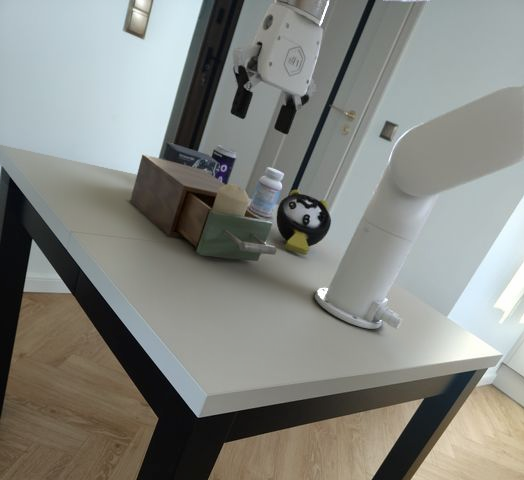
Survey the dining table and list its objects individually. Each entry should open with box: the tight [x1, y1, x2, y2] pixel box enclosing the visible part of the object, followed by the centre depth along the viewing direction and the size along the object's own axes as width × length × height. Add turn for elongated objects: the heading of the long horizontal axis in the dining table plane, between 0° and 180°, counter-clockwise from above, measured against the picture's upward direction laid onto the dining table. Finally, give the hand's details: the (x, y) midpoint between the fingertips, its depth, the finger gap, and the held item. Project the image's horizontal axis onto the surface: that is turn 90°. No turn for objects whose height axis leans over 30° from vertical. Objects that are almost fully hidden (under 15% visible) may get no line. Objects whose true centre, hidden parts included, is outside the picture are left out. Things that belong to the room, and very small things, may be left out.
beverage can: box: [210, 144, 237, 185], centre depth 124 cm, size 6×6×12 cm
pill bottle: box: [248, 166, 285, 218], centre depth 129 cm, size 6×6×11 cm
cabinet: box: [130, 153, 225, 239], centre depth 96 cm, size 16×14×9 cm
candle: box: [212, 182, 251, 216], centre depth 87 cm, size 6×6×10 cm
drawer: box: [175, 191, 278, 262], centre depth 88 cm, size 21×13×7 cm, turn 39°
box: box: [161, 141, 220, 177], centre depth 111 cm, size 11×7×10 cm, turn 123°
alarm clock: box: [276, 189, 332, 256], centre depth 114 cm, size 12×15×15 cm
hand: (259, 124), depth 82 cm, fingers open, 9 cm apart
